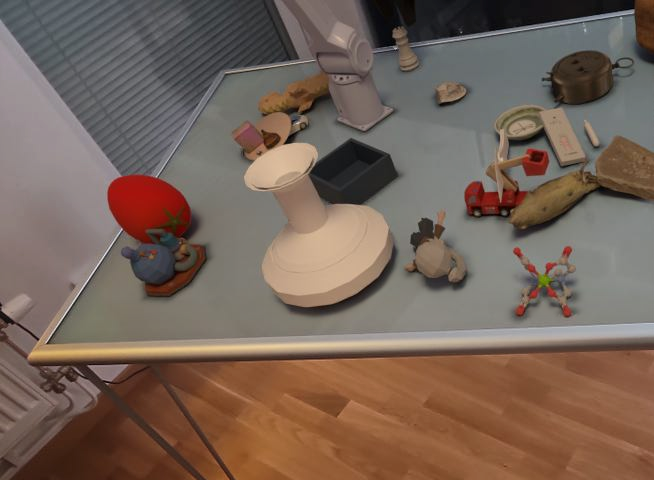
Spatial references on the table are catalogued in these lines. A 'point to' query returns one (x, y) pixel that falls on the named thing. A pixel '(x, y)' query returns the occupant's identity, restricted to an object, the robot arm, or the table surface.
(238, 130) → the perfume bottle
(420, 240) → the toy
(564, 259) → the molecular model
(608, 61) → the alarm clock
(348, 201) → the bin
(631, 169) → the decorative stone
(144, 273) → the model
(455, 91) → the fossil
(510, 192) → the toy fire truck
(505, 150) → the knife
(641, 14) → the bread
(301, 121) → the toy car
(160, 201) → the tomato
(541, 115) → the pregnancy test
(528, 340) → the table surface
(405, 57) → the rook chess piece
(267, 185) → the white vase
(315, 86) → the toy
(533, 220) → the root vegetable
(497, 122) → the saucer
